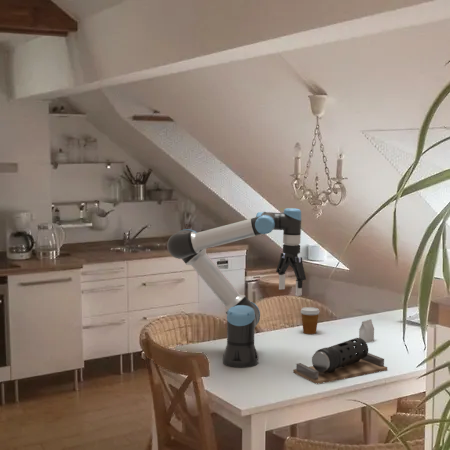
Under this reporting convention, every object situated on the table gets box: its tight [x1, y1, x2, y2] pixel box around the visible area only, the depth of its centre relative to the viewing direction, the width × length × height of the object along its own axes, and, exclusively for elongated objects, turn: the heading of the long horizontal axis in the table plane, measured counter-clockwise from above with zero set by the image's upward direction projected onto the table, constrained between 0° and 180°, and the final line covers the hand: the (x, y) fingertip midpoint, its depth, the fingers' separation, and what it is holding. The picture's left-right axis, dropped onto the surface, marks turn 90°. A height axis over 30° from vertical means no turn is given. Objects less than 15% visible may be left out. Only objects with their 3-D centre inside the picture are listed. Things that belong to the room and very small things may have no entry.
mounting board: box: [292, 352, 388, 385], centre depth 281 cm, size 36×16×4 cm, turn 119°
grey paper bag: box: [358, 319, 375, 344], centre depth 327 cm, size 4×7×10 cm, turn 133°
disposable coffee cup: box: [300, 306, 320, 335], centre depth 341 cm, size 10×10×12 cm
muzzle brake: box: [311, 337, 369, 373], centre depth 281 cm, size 10×28×10 cm, turn 136°
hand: (290, 292), depth 299 cm, fingers open, 13 cm apart
